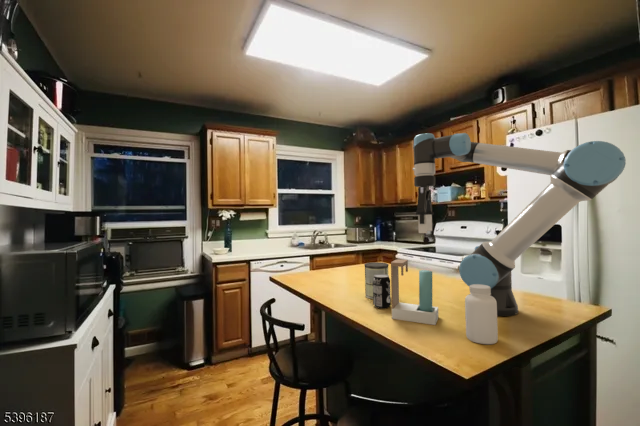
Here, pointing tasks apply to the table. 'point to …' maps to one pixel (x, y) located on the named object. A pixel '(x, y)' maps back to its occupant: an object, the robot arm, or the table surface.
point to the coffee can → (370, 271)
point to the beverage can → (381, 291)
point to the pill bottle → (481, 315)
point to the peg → (425, 290)
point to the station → (404, 309)
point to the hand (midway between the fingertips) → (425, 232)
